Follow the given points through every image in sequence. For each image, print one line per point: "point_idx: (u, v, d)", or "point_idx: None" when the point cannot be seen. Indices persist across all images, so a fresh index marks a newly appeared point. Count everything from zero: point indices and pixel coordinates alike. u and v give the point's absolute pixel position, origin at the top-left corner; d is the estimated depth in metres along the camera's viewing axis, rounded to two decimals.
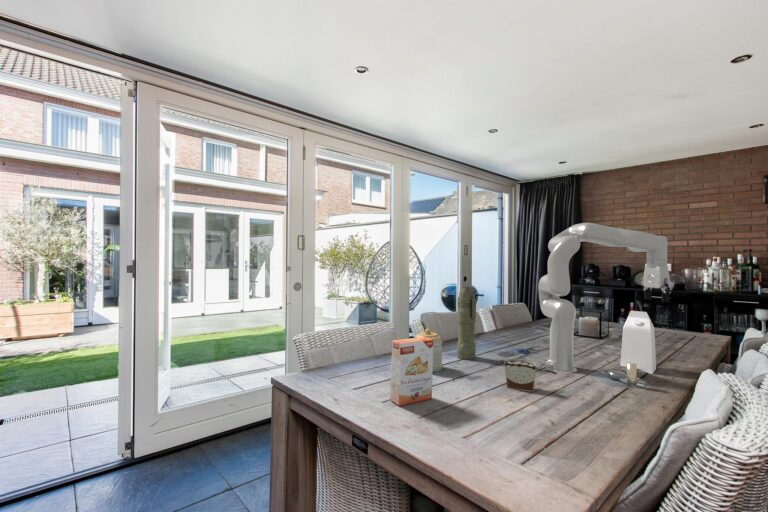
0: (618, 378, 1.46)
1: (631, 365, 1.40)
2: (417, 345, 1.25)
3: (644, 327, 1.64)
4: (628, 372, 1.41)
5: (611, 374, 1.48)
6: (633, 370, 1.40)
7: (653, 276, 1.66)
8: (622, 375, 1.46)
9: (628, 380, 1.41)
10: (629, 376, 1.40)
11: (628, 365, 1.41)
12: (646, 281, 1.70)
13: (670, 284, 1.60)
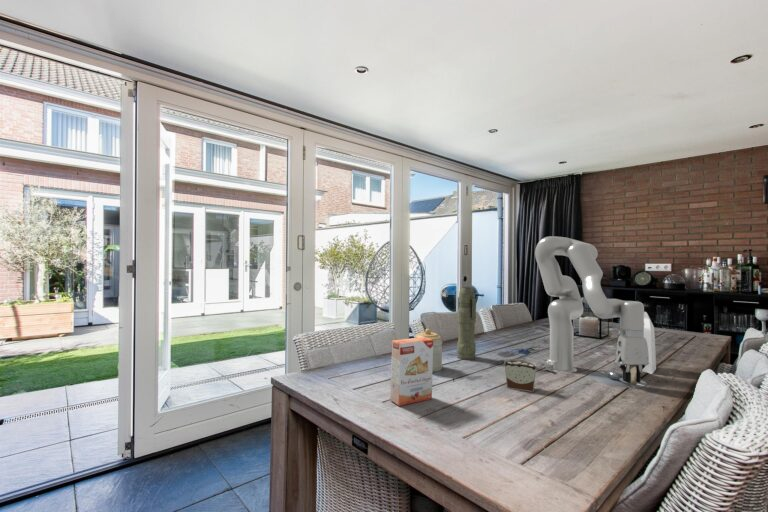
0: (618, 378, 1.46)
1: (631, 365, 1.40)
2: (417, 345, 1.25)
3: (644, 327, 1.64)
4: None
5: (611, 374, 1.48)
6: (633, 370, 1.40)
7: (640, 351, 1.39)
8: (622, 375, 1.46)
9: None
10: None
11: None
12: (630, 357, 1.38)
13: (647, 363, 1.41)
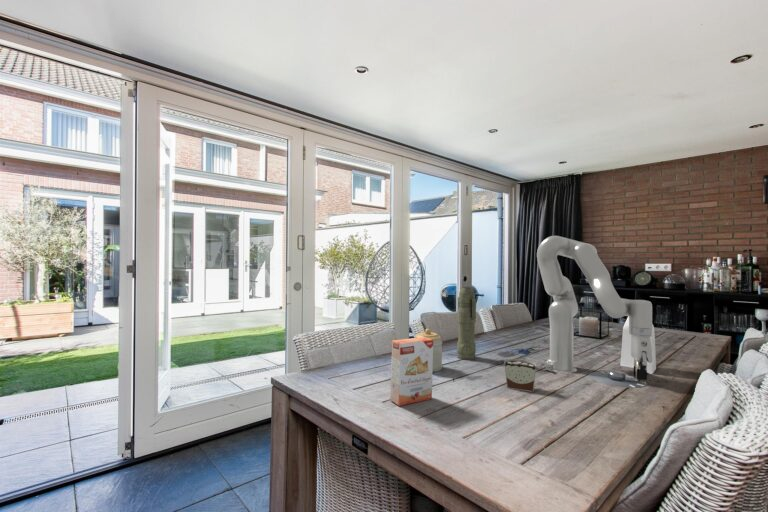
0: (625, 378, 1.47)
1: None
2: (417, 345, 1.25)
3: None
4: None
5: (620, 376, 1.46)
6: None
7: None
8: None
9: None
10: None
11: None
12: None
13: None
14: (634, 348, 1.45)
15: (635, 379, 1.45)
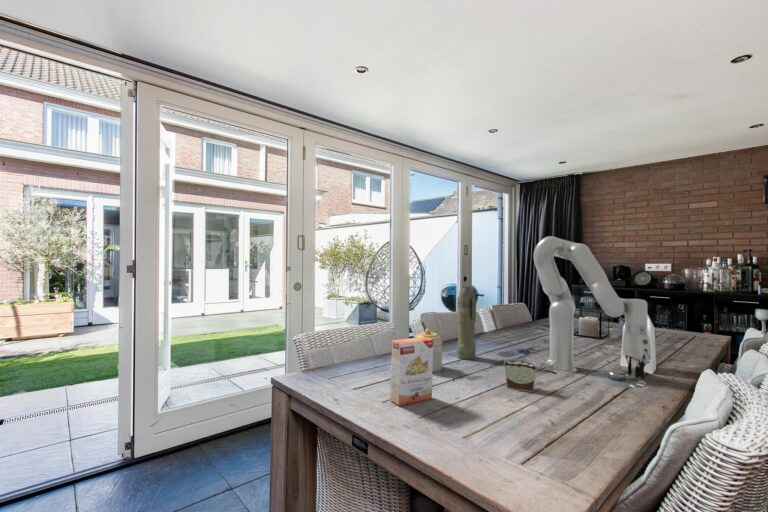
0: None
1: None
2: (417, 345, 1.25)
3: None
4: None
5: (623, 375, 1.46)
6: None
7: None
8: None
9: None
10: None
11: None
12: None
13: None
14: (633, 346, 1.48)
15: (633, 377, 1.48)
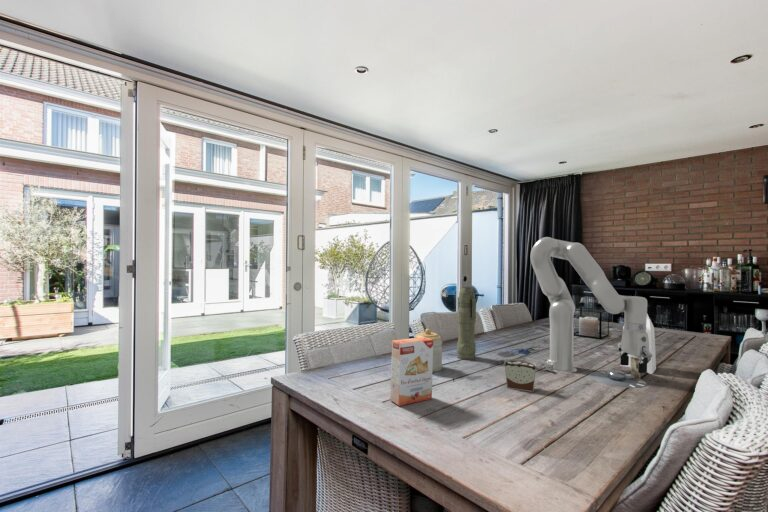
0: None
1: None
2: (417, 345, 1.25)
3: None
4: None
5: (623, 375, 1.46)
6: None
7: None
8: None
9: (639, 374, 1.48)
10: None
11: None
12: None
13: None
14: (632, 343, 1.48)
15: (633, 377, 1.49)
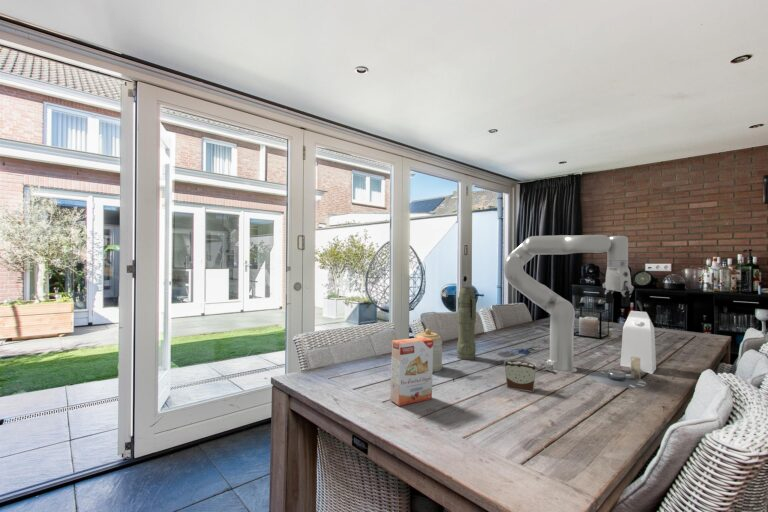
0: None
1: None
2: (417, 345, 1.25)
3: (644, 327, 1.64)
4: (639, 367, 1.48)
5: (623, 375, 1.46)
6: None
7: None
8: None
9: (639, 374, 1.48)
10: (639, 370, 1.48)
11: (639, 360, 1.48)
12: None
13: None
14: (615, 280, 1.56)
15: (633, 377, 1.49)
